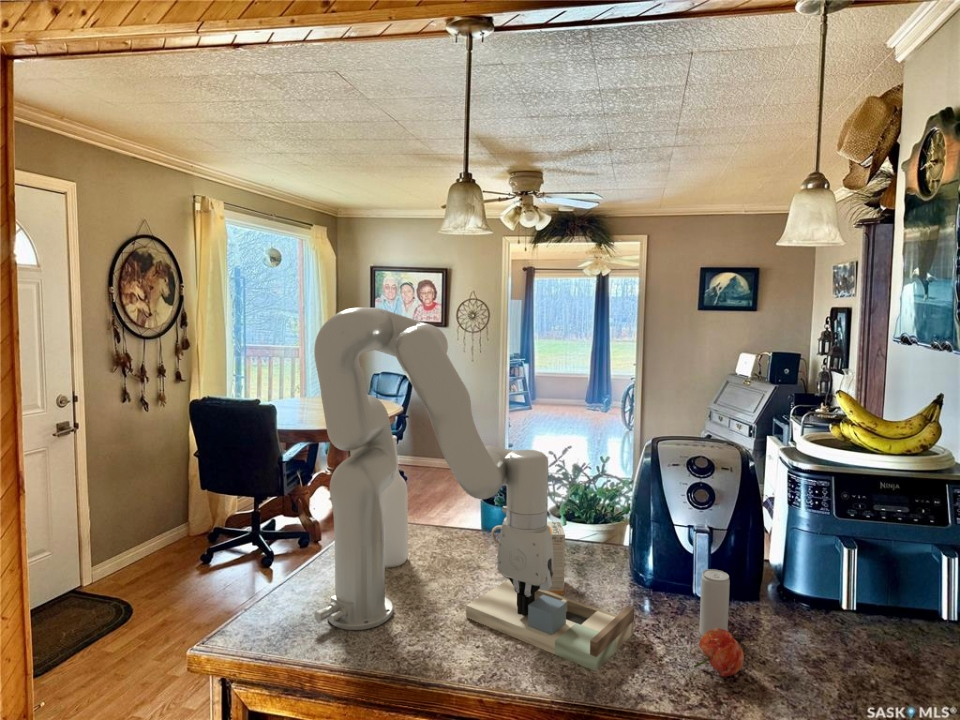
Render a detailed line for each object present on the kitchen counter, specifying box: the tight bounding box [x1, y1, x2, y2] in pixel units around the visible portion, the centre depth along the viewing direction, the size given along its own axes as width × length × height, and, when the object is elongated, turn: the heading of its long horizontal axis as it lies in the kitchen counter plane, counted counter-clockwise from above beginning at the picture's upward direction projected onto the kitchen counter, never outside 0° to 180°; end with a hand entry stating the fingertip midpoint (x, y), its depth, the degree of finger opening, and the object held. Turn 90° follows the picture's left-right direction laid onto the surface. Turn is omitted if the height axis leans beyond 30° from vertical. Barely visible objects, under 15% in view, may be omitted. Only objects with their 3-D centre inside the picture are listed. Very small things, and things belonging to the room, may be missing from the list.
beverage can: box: [699, 568, 731, 637], centre depth 111 cm, size 5×5×12 cm
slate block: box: [528, 595, 566, 635], centre depth 111 cm, size 5×5×4 cm
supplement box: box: [546, 521, 566, 595], centre depth 131 cm, size 8×5×13 cm, turn 179°
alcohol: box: [381, 434, 409, 568], centre depth 143 cm, size 9×9×30 cm
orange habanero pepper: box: [693, 628, 747, 678], centre depth 101 cm, size 7×7×10 cm
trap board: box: [465, 578, 635, 672], centre depth 115 cm, size 15×28×5 cm, turn 52°
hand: (525, 612), depth 114 cm, fingers closed
